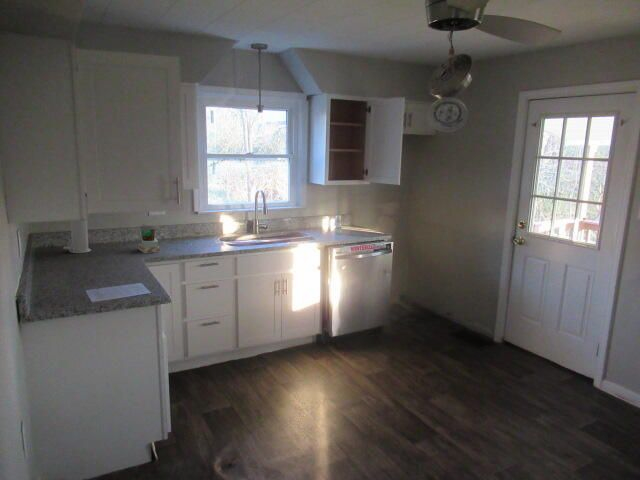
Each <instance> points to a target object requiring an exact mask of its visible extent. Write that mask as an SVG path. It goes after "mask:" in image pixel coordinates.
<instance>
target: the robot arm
mask: <svg viewBox="0 0 640 480" xmlns="http://www.w3.org/2000/svg"><path fill="white" fill-rule="evenodd" d="M89 214H90V213H88V215H89ZM88 220H89V219H88ZM88 220H86V221H72V220H71V223H70V231H71V232H70V233H71V244H70V245H67V246H66V245H64V246H63V250H69V253H72V254H85V253H90V252H91V251H92V249H91V248H89V235H88V234H89V233H88V232H89V231H88V230H89V229H88V225H89V224H88Z"/></svg>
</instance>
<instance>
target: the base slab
mask: <svg viewBox="0 0 640 480" xmlns="http://www.w3.org/2000/svg"><path fill="white" fill-rule="evenodd" d="M137 245H138V246H137V247H138V250H139V251H140V252H142V253H143V254H152V253H160V251H161V250H160V246H159V245H158V247H151V248H144V247H143V245H142V243H138V244H137Z"/></svg>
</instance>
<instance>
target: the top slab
mask: <svg viewBox="0 0 640 480" xmlns="http://www.w3.org/2000/svg"><path fill="white" fill-rule="evenodd" d="M141 244H142V245H143V247H144V248H151V247H158V246H159V241H158V239H157V238H156V237H154V241H144V240H142V239H141Z"/></svg>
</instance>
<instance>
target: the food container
mask: <svg viewBox="0 0 640 480" xmlns="http://www.w3.org/2000/svg"><path fill="white" fill-rule="evenodd" d="M139 229H140V230H141V232H140V233H141V241H142V240H144V241H154V238H156V237H155V234H156V233H155V232H156V226H155V225H154V226H150V225H145V223H144V224H140V225H139Z"/></svg>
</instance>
